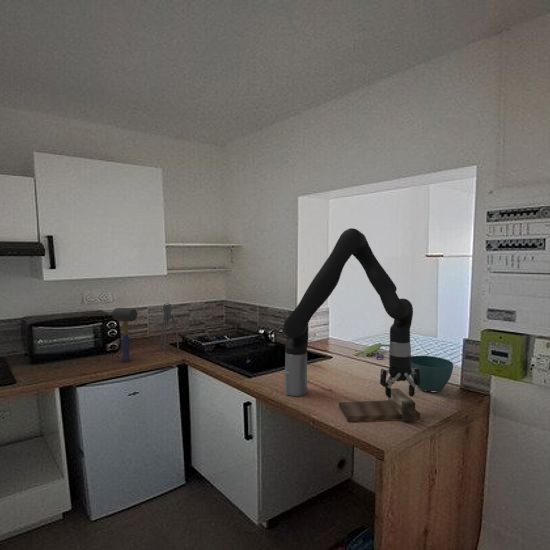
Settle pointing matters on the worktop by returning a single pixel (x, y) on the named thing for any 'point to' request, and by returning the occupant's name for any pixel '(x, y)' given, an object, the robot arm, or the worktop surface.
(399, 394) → the beige wooden block
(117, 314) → the rubber mallet
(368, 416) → the walnut plank
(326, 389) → the worktop surface
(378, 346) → the figurine
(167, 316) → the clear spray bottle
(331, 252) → the robot arm
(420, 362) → the plant pot
